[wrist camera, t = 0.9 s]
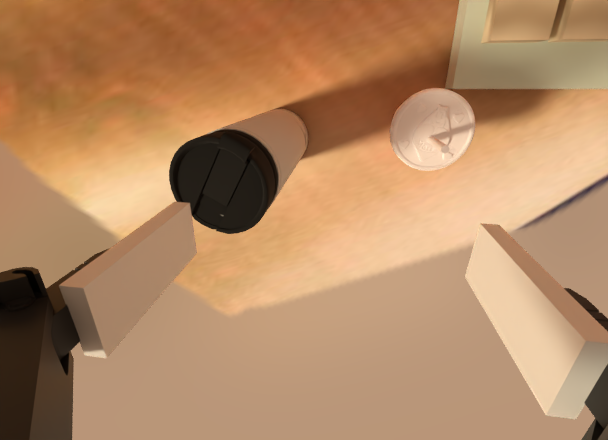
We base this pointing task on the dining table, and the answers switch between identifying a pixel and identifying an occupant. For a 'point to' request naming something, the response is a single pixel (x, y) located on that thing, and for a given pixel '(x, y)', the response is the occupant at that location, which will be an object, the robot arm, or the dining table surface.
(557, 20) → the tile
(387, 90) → the dining table surface
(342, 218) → the dining table surface
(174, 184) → the travel mug
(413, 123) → the smoothie
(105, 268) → the robot arm
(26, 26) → the dining table surface
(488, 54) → the board
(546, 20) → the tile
